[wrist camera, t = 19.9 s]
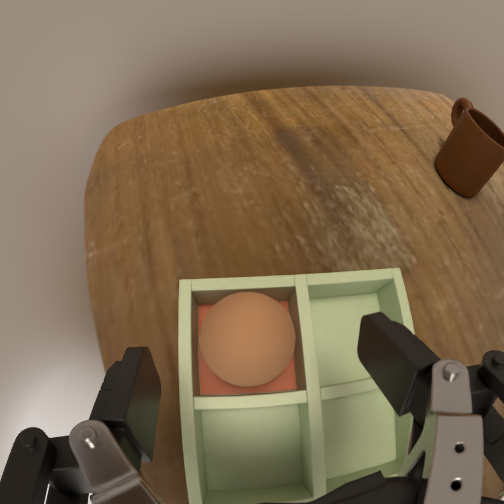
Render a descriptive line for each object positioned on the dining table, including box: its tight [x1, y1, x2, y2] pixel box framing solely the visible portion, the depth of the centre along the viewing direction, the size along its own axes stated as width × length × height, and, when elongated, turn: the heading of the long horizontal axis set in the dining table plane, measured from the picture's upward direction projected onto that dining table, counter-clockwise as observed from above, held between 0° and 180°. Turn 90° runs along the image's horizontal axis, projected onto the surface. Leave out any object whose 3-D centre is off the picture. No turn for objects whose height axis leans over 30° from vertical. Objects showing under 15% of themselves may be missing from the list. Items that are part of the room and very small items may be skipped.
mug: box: [436, 98, 504, 197], centre depth 26 cm, size 12×8×9 cm, turn 173°
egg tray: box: [178, 268, 415, 504], centre depth 16 cm, size 15×15×4 cm
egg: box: [200, 292, 296, 387], centre depth 15 cm, size 5×5×8 cm
